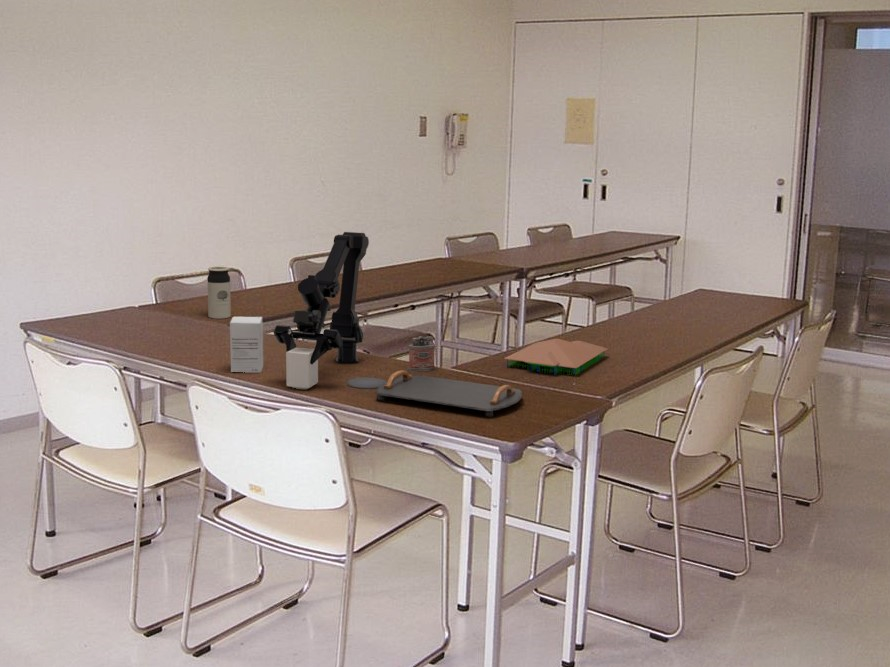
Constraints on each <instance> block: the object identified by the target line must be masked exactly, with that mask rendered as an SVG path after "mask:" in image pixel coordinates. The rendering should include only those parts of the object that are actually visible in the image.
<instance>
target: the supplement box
mask: <svg viewBox="0 0 890 667" xmlns="http://www.w3.org/2000/svg"><path fill="white" fill-rule="evenodd" d="M263 326H264V325H263V316H232V318H231V320H230V322H229V342H230V343H229V344H230V349H229V350H230V373H231V372H243V373H244V372H245V373H246V374H247V373H253V374H255V373H258V374H259V373H262V372H263V368H264V336H263V334H264V332H263V331H264V328H263ZM243 373H242V374H243Z"/></svg>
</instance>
